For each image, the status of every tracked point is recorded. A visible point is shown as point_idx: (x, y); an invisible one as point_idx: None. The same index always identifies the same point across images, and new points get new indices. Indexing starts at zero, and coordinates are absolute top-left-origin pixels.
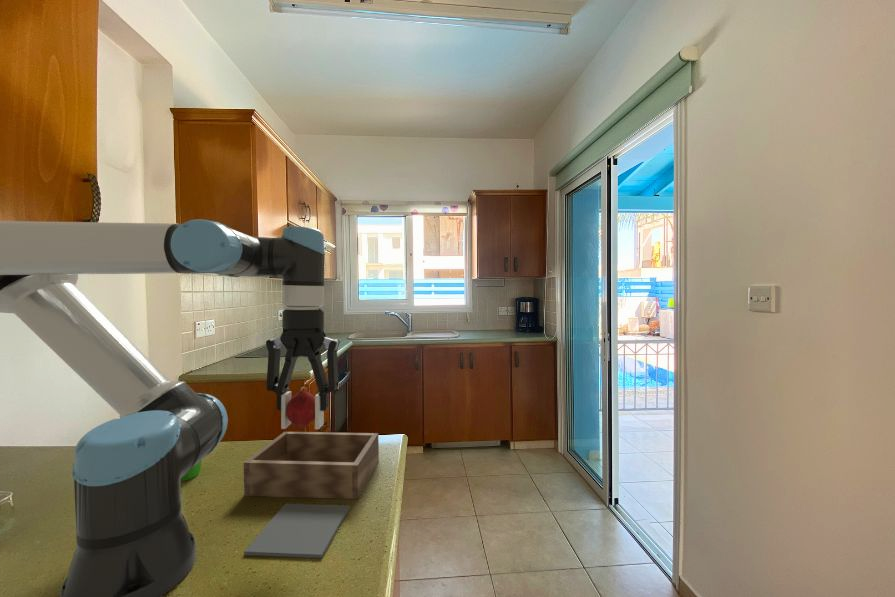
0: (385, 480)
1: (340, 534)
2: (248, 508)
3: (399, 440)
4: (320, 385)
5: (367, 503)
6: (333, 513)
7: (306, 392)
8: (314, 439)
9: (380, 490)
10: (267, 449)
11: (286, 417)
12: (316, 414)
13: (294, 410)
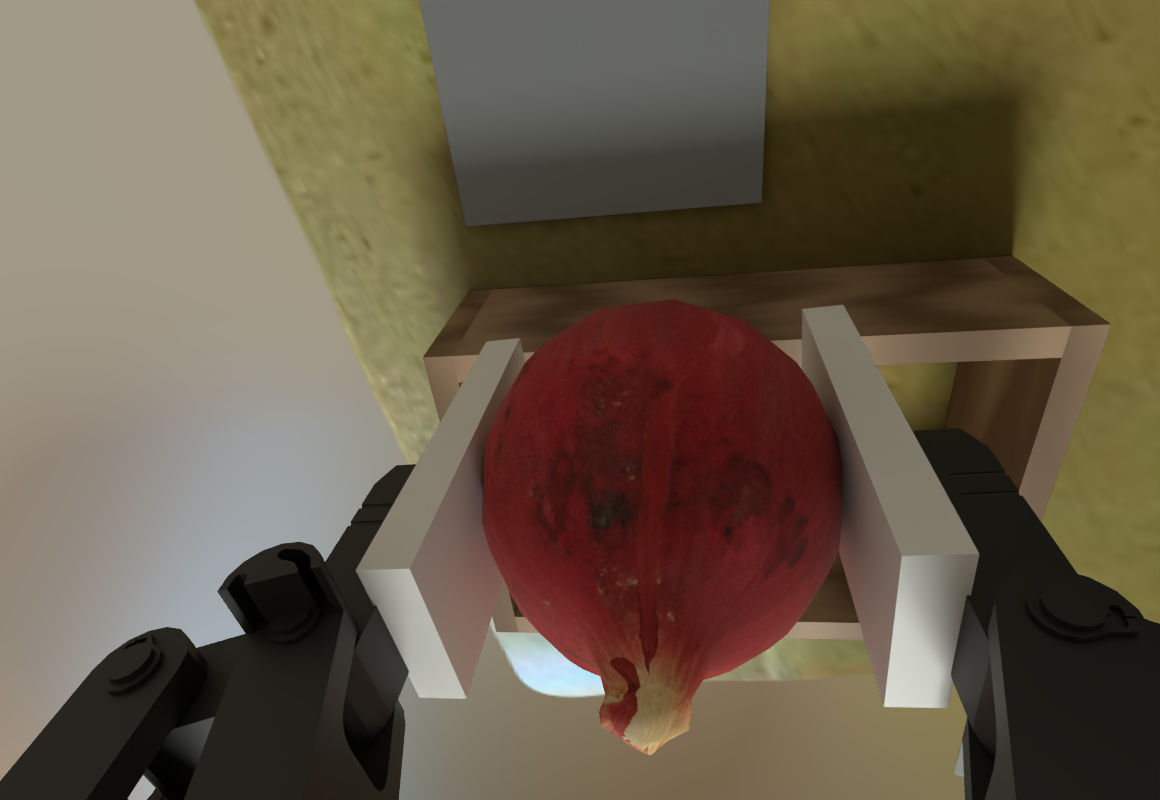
0: (429, 419)
1: (411, 44)
2: (940, 161)
3: (511, 662)
4: (259, 719)
5: (417, 267)
6: (502, 161)
7: (588, 646)
8: None
9: (413, 355)
10: (1018, 478)
11: (821, 387)
12: (469, 412)
13: (661, 345)
